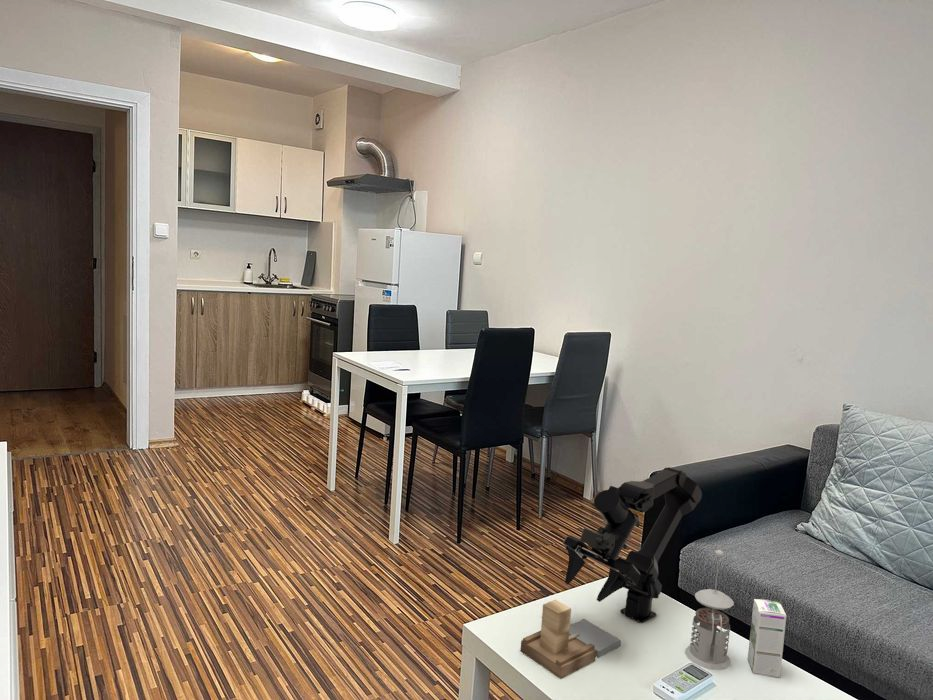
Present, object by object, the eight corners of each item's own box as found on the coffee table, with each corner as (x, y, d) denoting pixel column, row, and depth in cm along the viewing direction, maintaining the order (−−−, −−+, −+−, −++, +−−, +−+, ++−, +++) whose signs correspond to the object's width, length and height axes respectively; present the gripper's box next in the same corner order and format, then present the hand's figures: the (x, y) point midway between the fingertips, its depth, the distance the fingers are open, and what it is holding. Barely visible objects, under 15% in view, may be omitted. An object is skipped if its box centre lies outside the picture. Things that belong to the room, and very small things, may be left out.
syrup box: (780, 678, 143) (788, 614, 142) (751, 673, 145) (759, 610, 143) (774, 663, 149) (781, 601, 147) (745, 658, 150) (753, 597, 148)
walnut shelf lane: (554, 635, 155) (555, 622, 154) (595, 661, 146) (596, 646, 145) (520, 651, 148) (521, 637, 147) (560, 678, 139) (562, 663, 138)
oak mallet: (570, 631, 152) (573, 592, 151) (585, 640, 149) (589, 600, 148) (539, 645, 146) (543, 604, 145) (555, 655, 143) (558, 613, 141)
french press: (727, 648, 154) (739, 544, 151) (736, 678, 143) (749, 566, 139) (682, 641, 156) (693, 538, 153) (688, 670, 144) (700, 559, 141)
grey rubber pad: (583, 624, 161) (583, 618, 160) (620, 646, 152) (621, 639, 152) (560, 634, 155) (561, 628, 155) (597, 657, 147) (598, 651, 147)
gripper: (570, 502, 157) (534, 559, 152) (635, 529, 143) (599, 593, 138) (590, 525, 163) (557, 581, 158) (655, 553, 149) (621, 616, 144)
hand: (581, 592), depth 149 cm, fingers open, 9 cm apart
